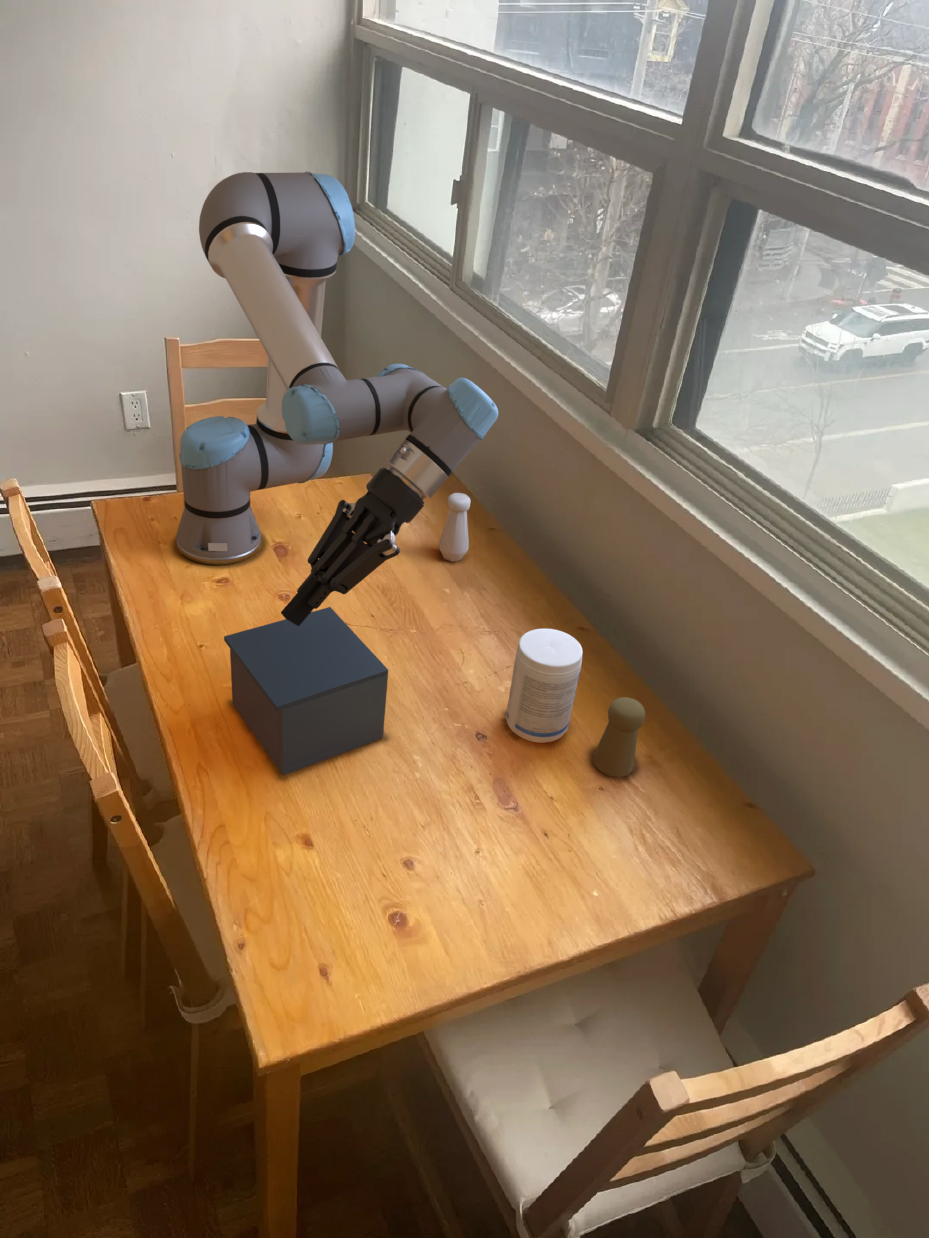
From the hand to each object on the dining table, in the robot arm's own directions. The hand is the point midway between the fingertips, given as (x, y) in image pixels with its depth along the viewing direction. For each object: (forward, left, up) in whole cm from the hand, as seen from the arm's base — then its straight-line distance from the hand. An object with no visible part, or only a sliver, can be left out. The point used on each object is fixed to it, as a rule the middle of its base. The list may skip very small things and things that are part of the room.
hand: (289, 619), depth 119 cm
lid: (0, +2, -7) cm, 8 cm away
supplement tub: (+16, +33, -19) cm, 41 cm away
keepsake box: (0, +3, -19) cm, 19 cm away
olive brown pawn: (+28, +38, -19) cm, 51 cm away
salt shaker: (-30, +49, -19) cm, 60 cm away
